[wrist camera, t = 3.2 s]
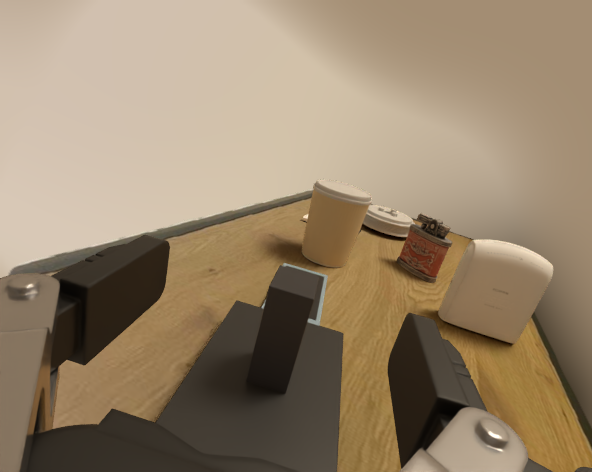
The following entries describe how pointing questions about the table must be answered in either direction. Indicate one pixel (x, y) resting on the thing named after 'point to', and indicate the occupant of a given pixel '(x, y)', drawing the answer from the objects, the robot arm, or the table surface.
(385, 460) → the table surface
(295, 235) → the table surface
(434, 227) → the lighter
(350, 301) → the table surface
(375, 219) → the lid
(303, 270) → the phone
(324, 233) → the coffee cup
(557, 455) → the table surface
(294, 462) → the cover
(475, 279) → the photo printer
